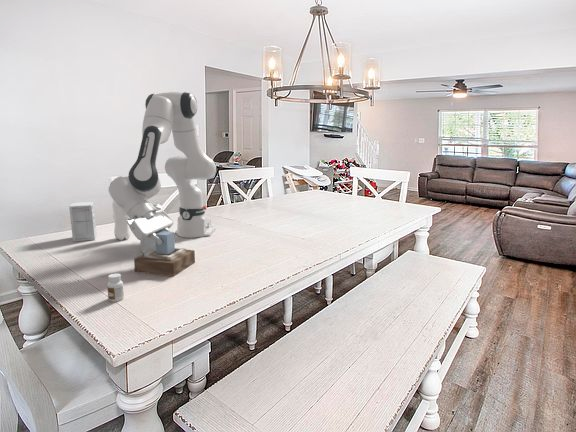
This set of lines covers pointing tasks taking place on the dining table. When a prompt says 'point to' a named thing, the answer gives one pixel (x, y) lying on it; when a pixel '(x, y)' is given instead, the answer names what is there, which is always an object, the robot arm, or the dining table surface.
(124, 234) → the water bottle
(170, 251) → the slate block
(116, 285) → the pill bottle
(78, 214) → the supplement box
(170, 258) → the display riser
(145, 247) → the skincare box
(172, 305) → the dining table surface
